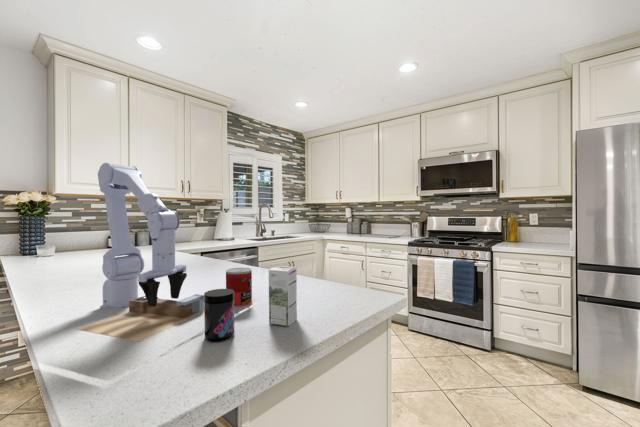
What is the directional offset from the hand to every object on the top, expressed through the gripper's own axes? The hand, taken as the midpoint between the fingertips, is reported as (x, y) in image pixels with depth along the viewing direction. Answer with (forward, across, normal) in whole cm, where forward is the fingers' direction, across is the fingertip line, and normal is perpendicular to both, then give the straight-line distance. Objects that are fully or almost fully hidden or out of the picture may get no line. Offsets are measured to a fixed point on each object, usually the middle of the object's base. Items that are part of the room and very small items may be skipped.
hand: (164, 301), depth 85 cm
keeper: (+3, +2, -8) cm, 9 cm away
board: (+4, -4, 0) cm, 6 cm away
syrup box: (+4, +6, -34) cm, 35 cm away
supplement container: (+4, -6, -24) cm, 25 cm away
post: (+4, 0, +8) cm, 9 cm away
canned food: (+4, +16, -14) cm, 21 cm away
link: (+3, 0, +1) cm, 3 cm away
